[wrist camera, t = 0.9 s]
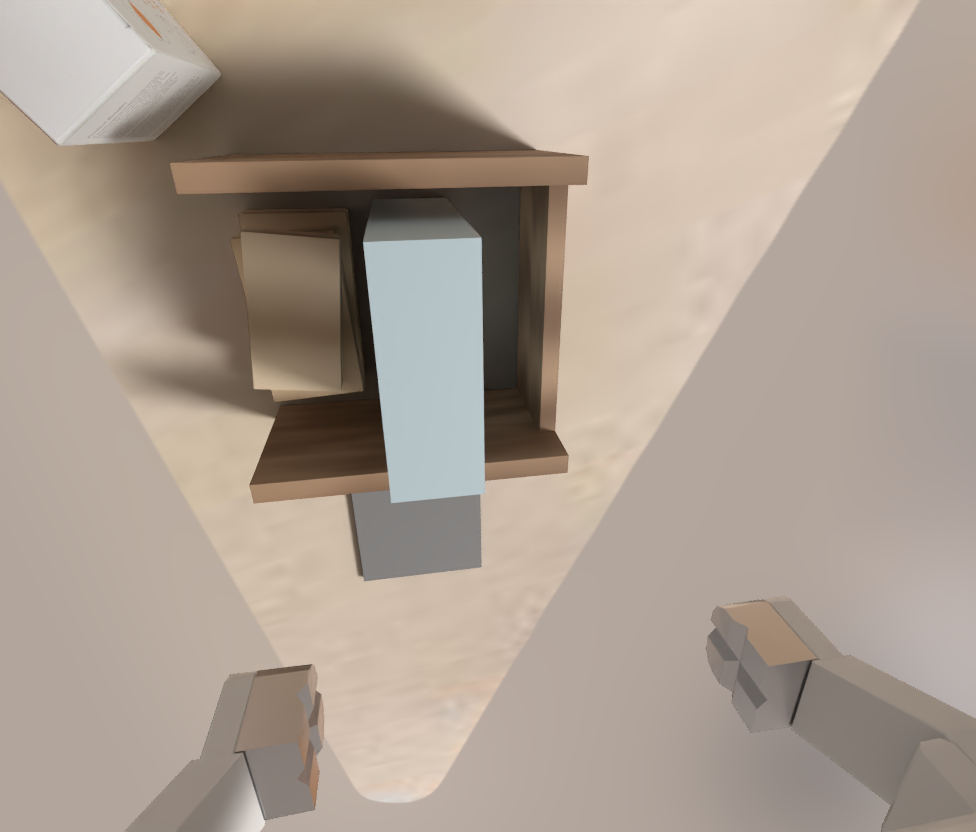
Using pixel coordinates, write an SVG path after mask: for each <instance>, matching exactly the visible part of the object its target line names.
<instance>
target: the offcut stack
mask: <svg viewBox="0 0 976 832" xmlns="http://www.w3.org/2000/svg"><path fill="white" fill-rule="evenodd" d="M238 217H239V222H240V227H241V231H240V234H237V235H236V236H234V237H233V238H231V239H230V242H231V246H232V250H233V253H234V257H235V261H236V264H237V268H238V271H239V275H240V279H241V282H242V286H243V290H244V293H245V297H246V303H247V315H248V327H249V338H250V350H251V361H252V373H253V384H254V389H267V390H271V392H272V395H273V399H274V402H280V401H288V400H296V399H304V398H312V397H320V396H328V395H335V394H343V393H351V392H359V391H364V383H365V367H364V358H363V348H362V339H361V329H360V320H359V311H358V301H357V292H356V282H355V273H354V263H353V254H352V245H351V235H350V226H349V216H348V208H346V209H283V210H244V211H242V212H241V213H239V214H238Z"/></svg>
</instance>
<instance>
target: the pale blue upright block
mask: <svg viewBox="0 0 976 832" xmlns="http://www.w3.org/2000/svg"><path fill="white" fill-rule="evenodd" d="M363 246H364V256H365V265H366V274H367V283H368V293H369V302H370V311H371V320H372V329H373V339H374V348H375V357H376V366H377V375H378V385H379V394H380V403H381V412H382V422H383V431H384V440H385V449H386V458H387V468H388V477H389V486H390V495H391V503H399V502H408V501H418V500H428V499H438V498H448V497H458V496H468V495H478V494H485V456H484V381H483V307H482V238H481V237H480V235H479V234H478V233H477V232H476V231H475V230H474V229H473V228H472V226H471V225H470V224H469V223H468V222H467V221H466V220H465V219H464V218H463V216H462V215H461V214H460V213H459V212H458V211H457V210H456V209H455V207H454V206H453V205H452V204H451V203H450V202H449V201H448V200H447V198H410V199H373V200H372V204H371V208H370V213H369V217H368V222H367V226H366V231H365V235H364V240H363Z"/></svg>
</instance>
